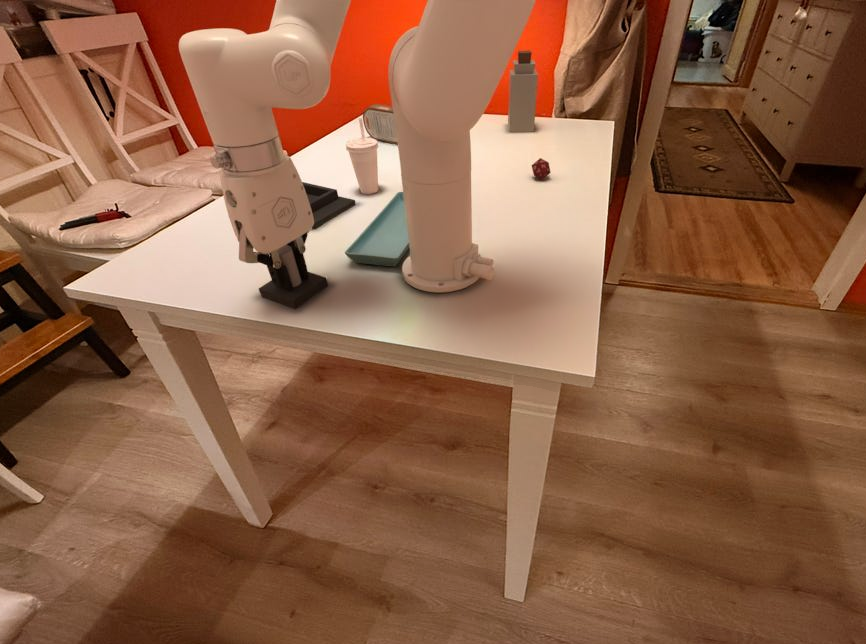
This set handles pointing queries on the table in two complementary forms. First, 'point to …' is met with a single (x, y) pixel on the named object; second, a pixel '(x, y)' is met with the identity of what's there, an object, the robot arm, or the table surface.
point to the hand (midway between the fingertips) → (292, 281)
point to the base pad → (325, 203)
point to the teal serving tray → (383, 237)
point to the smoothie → (364, 161)
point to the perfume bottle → (522, 94)
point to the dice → (541, 169)
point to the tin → (380, 123)
